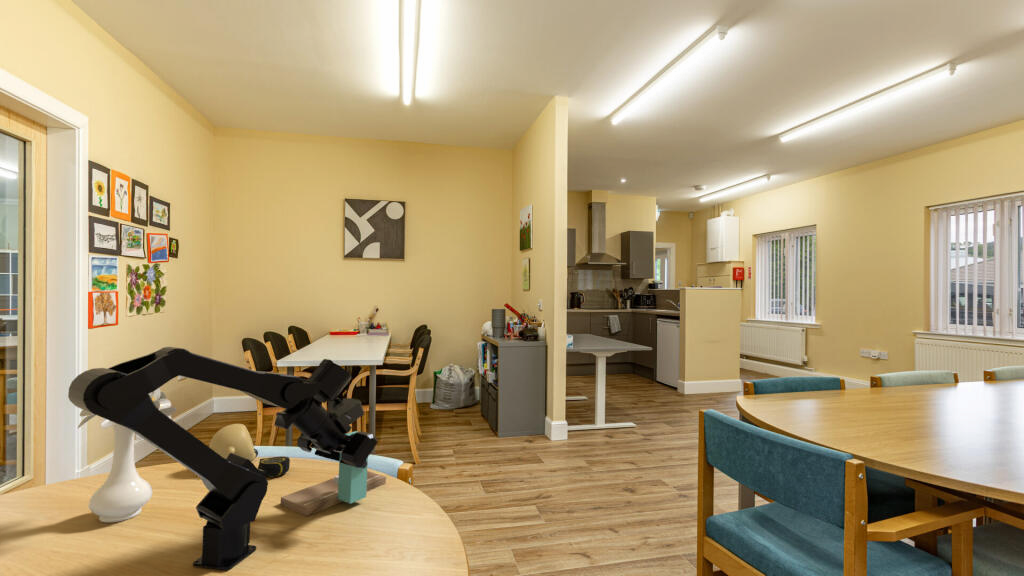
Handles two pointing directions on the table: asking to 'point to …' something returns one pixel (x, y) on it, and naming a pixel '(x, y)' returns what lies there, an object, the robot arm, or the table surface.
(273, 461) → the tape measure
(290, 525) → the table surface
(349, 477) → the teal rectangular block
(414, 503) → the table surface
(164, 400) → the flower vase
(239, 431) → the toy pig
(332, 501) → the board
